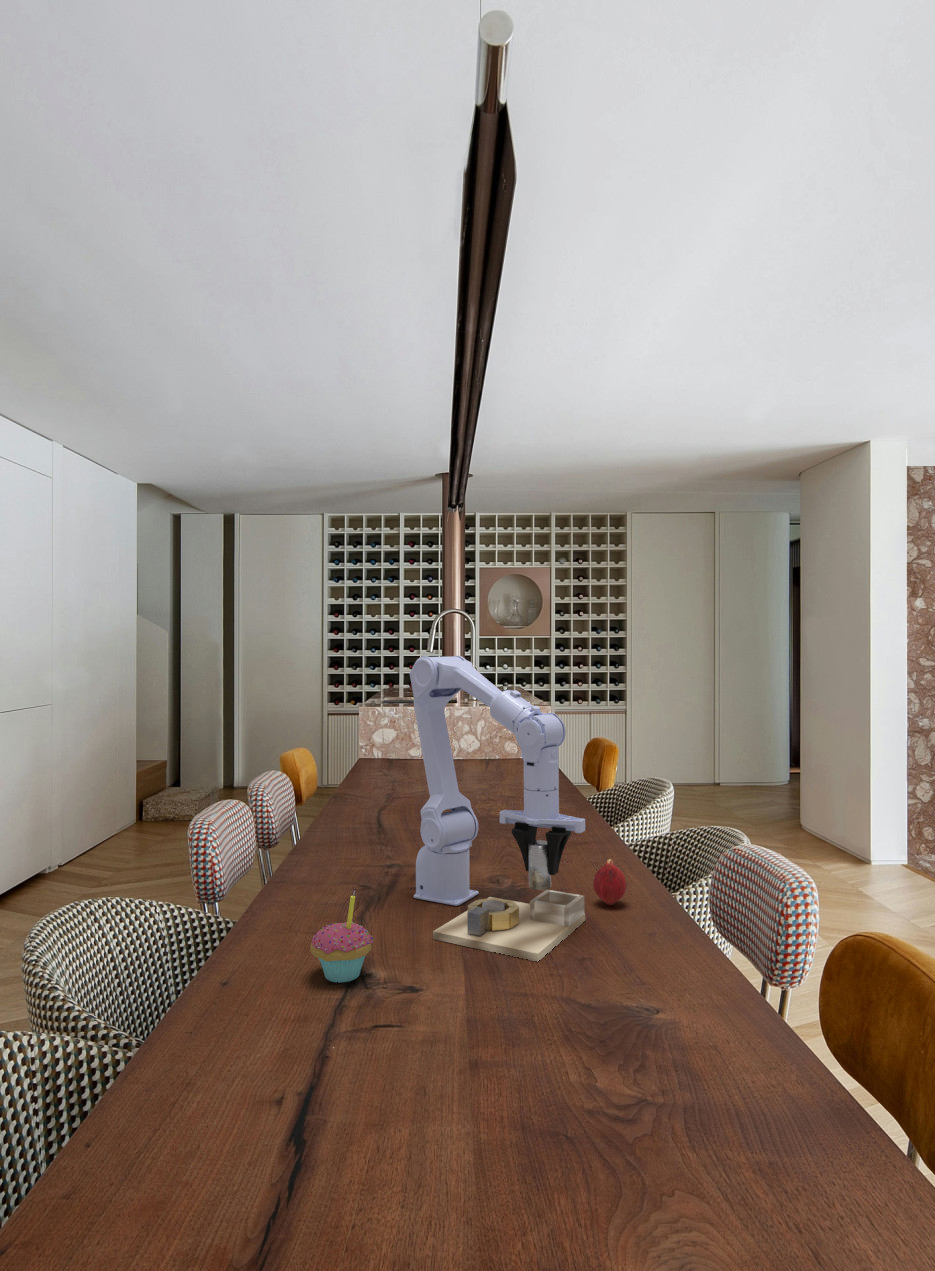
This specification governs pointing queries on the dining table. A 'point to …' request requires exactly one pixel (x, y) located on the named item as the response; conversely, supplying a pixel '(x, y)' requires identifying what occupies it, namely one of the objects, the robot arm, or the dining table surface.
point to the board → (522, 926)
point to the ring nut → (491, 917)
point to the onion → (609, 883)
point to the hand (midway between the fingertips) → (541, 871)
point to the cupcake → (342, 948)
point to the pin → (538, 865)
